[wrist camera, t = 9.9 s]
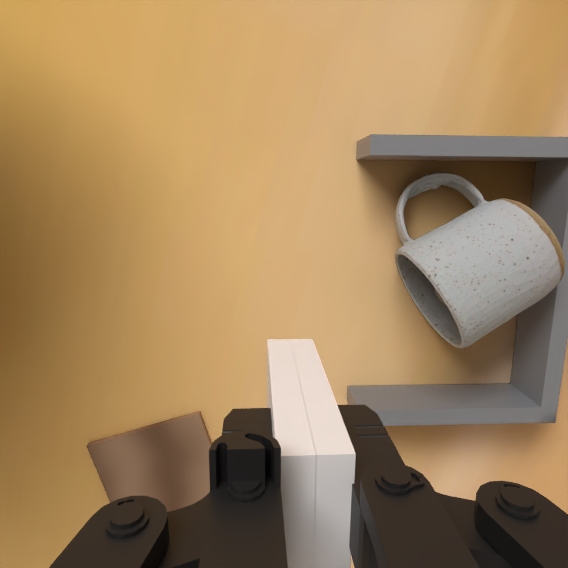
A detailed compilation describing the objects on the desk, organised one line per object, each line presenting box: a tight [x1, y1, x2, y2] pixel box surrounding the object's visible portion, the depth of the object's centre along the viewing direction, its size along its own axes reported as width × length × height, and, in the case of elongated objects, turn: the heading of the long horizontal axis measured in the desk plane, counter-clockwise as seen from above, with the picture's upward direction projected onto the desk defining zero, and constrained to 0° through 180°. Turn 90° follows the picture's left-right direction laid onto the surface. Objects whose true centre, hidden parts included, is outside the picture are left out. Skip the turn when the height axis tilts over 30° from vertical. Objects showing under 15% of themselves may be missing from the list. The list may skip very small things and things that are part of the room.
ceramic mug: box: [395, 173, 565, 349], centre depth 29 cm, size 11×8×8 cm
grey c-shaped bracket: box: [347, 134, 568, 426], centre depth 31 cm, size 14×19×4 cm
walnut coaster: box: [87, 411, 212, 512], centre depth 36 cm, size 9×9×1 cm
